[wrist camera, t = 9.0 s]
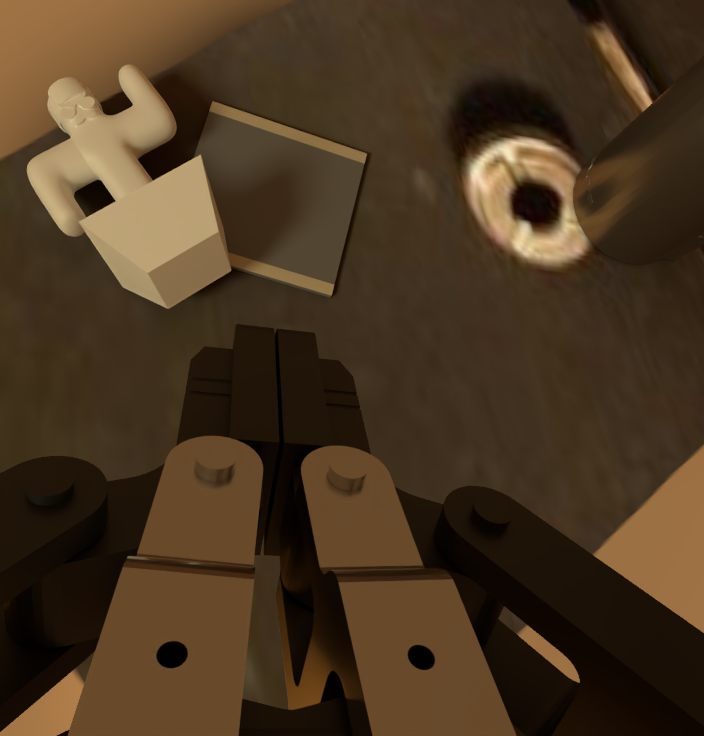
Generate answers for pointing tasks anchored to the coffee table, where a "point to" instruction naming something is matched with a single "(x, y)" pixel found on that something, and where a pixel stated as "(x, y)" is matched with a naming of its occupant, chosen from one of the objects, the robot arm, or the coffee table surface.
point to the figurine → (132, 192)
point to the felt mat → (280, 197)
